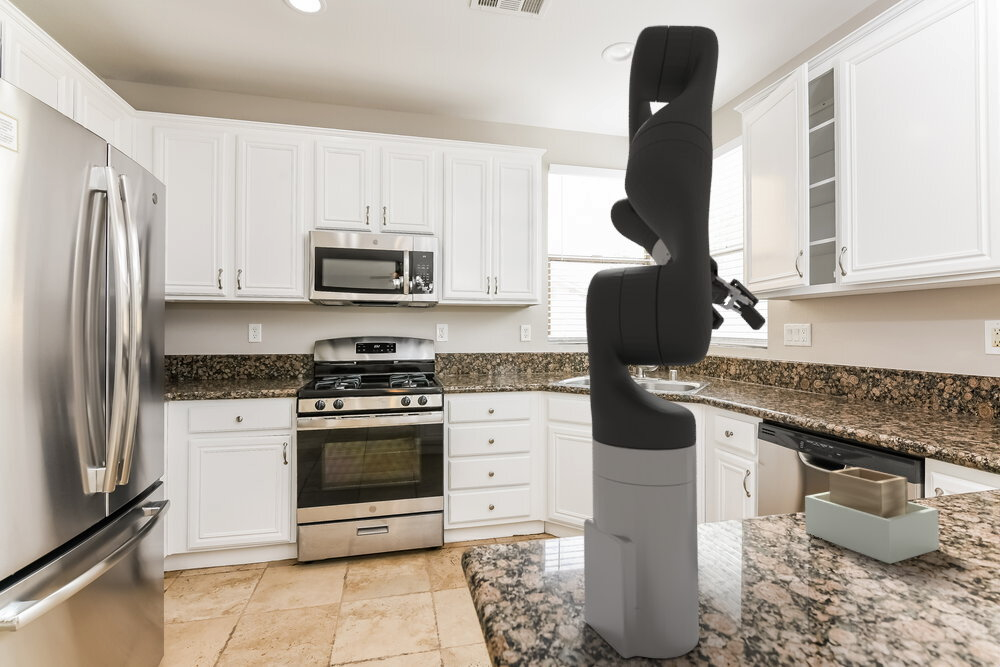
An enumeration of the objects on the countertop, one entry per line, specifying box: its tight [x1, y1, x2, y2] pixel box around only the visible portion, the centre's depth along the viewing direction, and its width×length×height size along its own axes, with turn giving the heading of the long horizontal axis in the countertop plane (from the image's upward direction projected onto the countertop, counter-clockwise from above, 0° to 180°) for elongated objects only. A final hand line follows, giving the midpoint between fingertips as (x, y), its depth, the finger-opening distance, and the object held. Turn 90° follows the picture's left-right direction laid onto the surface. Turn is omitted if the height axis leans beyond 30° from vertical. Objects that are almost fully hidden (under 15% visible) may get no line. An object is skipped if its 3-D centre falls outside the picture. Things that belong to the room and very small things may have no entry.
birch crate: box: [828, 466, 909, 519], centre depth 64 cm, size 6×6×8 cm
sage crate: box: [804, 491, 940, 565], centre depth 64 cm, size 10×10×5 cm
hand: (740, 325), depth 73 cm, fingers open, 8 cm apart
